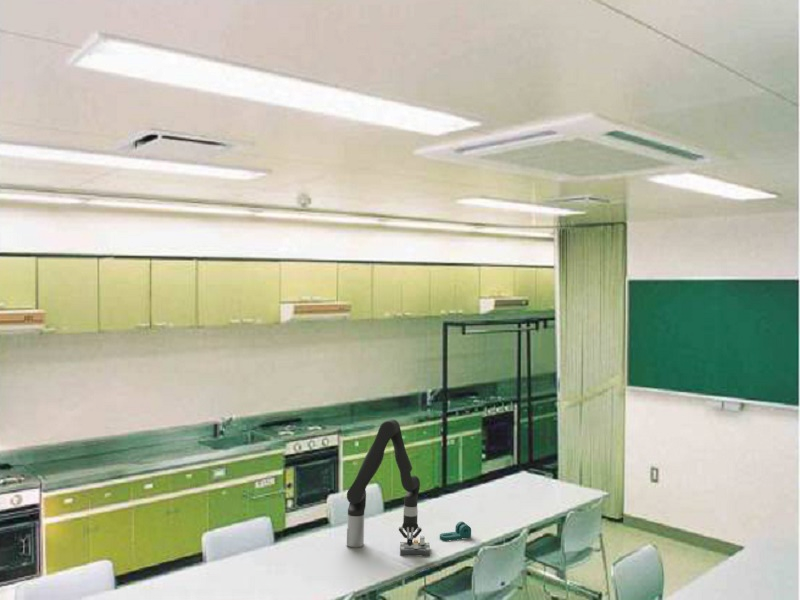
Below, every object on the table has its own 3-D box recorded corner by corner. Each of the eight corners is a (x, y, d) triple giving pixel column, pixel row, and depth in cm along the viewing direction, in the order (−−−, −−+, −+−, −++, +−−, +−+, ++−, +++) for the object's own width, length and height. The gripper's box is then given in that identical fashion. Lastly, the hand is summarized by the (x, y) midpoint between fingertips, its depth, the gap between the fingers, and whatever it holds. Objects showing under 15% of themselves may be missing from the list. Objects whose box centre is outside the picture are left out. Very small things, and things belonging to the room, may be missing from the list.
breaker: (420, 544, 377) (420, 537, 377) (419, 542, 380) (420, 535, 380) (424, 544, 377) (424, 537, 377) (424, 542, 380) (424, 535, 380)
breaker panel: (400, 555, 370) (400, 549, 370) (400, 547, 381) (400, 541, 381) (429, 556, 370) (430, 550, 370) (429, 548, 381) (429, 542, 381)
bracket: (465, 534, 405) (466, 521, 404) (470, 538, 398) (471, 524, 398) (437, 537, 398) (438, 524, 398) (442, 541, 392) (443, 528, 392)
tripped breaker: (413, 548, 371) (413, 541, 371) (413, 546, 374) (413, 539, 374) (418, 548, 371) (418, 541, 371) (417, 546, 374) (418, 539, 374)
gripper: (398, 515, 369) (397, 547, 369) (422, 516, 368) (422, 548, 369) (398, 511, 376) (397, 542, 376) (422, 511, 376) (421, 543, 376)
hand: (409, 545), depth 373 cm, fingers closed
